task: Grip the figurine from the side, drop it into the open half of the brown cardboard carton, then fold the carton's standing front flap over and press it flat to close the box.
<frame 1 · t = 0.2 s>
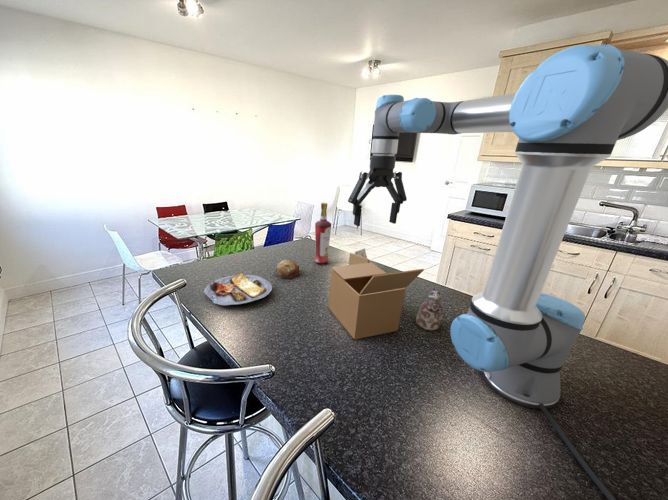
hand: (375, 224, 98), 28 cm above the kitchen island, tool pointing down, fingers open, 13 cm apart
flap: (391, 281, 78), point 19 cm above the kitchen island, hinge at 125.0°
figurine: (427, 324, 94), on the kitchen island
bread roll: (287, 274, 127), on the kitchen island
sandwich container: (367, 287, 118), on the kitchen island
carton: (361, 318, 96), on the kitchen island
food plate: (238, 293, 111), on the kitchen island
liquor: (321, 262, 140), on the kitchen island
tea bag: (357, 271, 132), on the kitchen island
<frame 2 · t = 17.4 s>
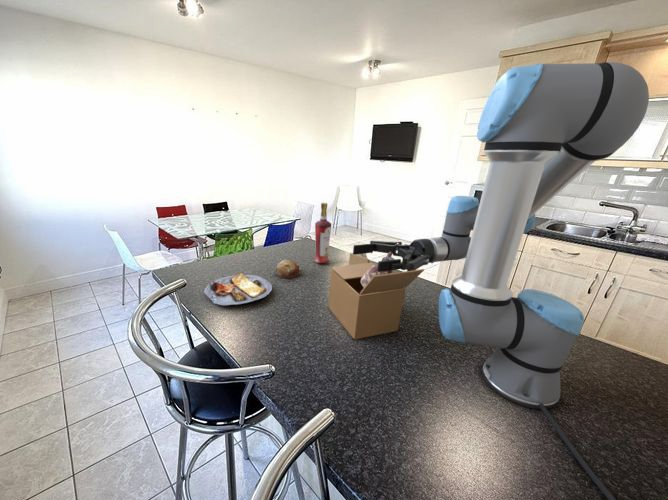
hand: (365, 257, 83), 23 cm above the kitchen island, tool horizontal, fingers open, 13 cm apart
flap: (391, 281, 78), point 19 cm above the kitchen island, hinge at 125.4°
figurine: (371, 285, 88), point 14 cm above the kitchen island, touching carton, gripper
everything else where it was.
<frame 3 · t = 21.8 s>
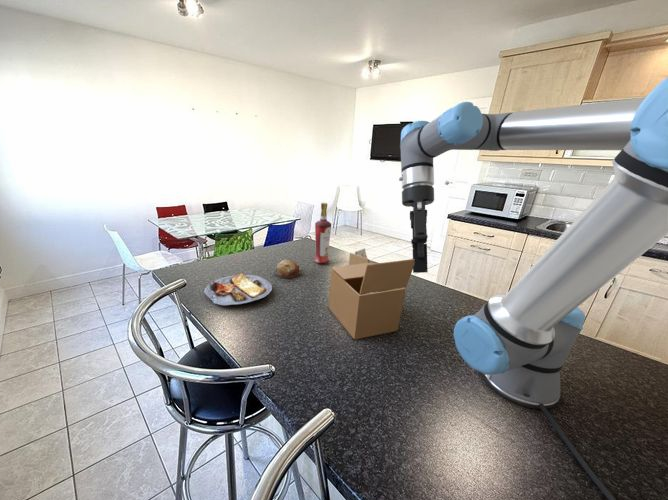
hand: (419, 273, 74), 23 cm above the kitchen island, tool tilted 25°, fingers open, 13 cm apart
flap: (387, 276, 79), point 20 cm above the kitchen island, hinge at 101.3°, touching gripper
figurine: (367, 320, 95), resting on carton
everything else where it was.
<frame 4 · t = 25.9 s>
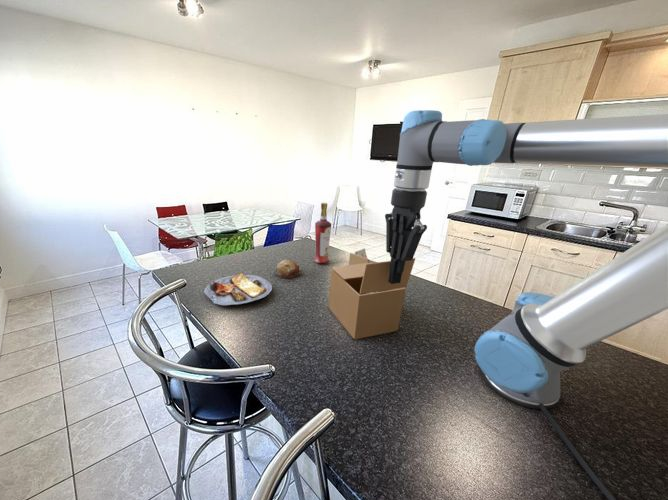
hand: (394, 282, 76), 20 cm above the kitchen island, tool pointing down, fingers closed
flap: (387, 276, 79), point 20 cm above the kitchen island, hinge at 98.9°, touching gripper
everything else where it was.
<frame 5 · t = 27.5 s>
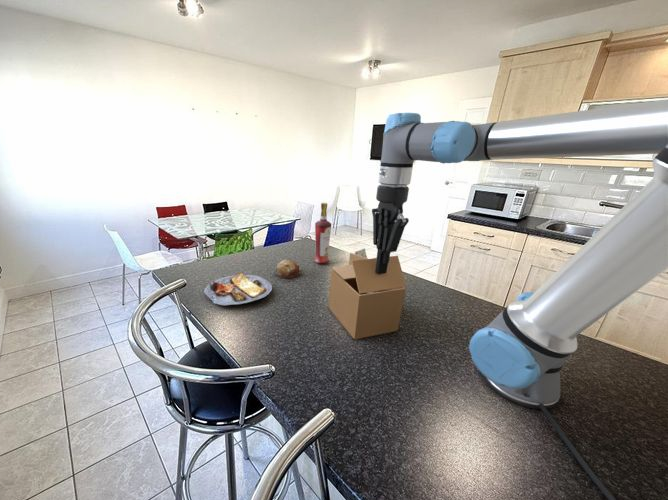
hand: (380, 272, 82), 20 cm above the kitchen island, tool pointing down, fingers closed
flap: (379, 274, 83), point 19 cm above the kitchen island, hinge at 51.1°
everything else where it was.
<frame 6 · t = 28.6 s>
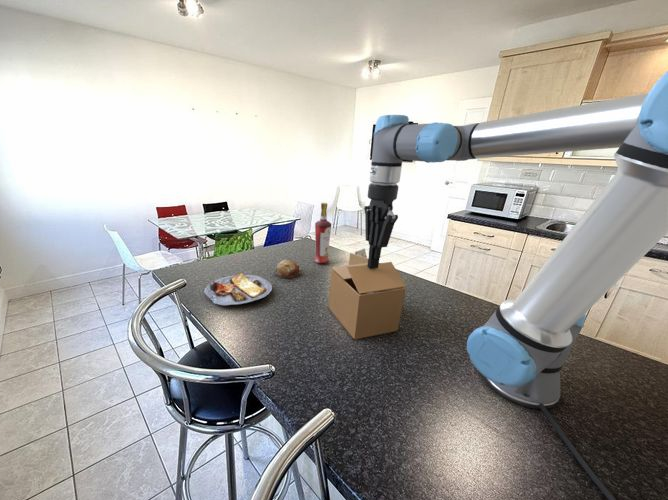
hand: (372, 267, 85), 19 cm above the kitchen island, tool pointing down, fingers closed
flap: (376, 277, 84), point 17 cm above the kitchen island, hinge at 27.5°
everything else where it was.
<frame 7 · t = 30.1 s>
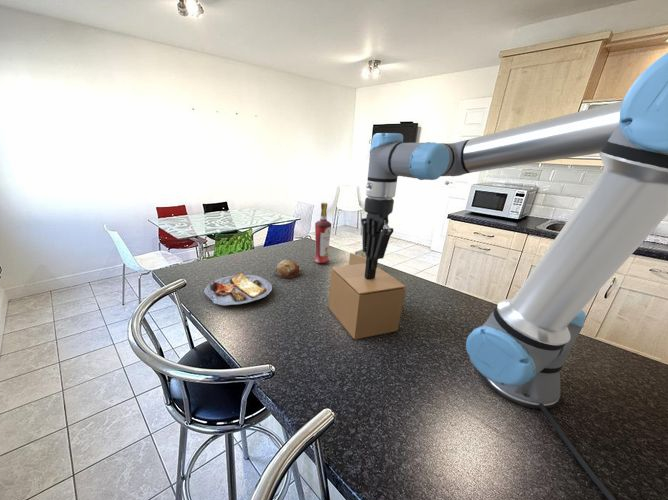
hand: (369, 277, 88), 16 cm above the kitchen island, tool pointing down, fingers closed
flap: (374, 282, 86), point 15 cm above the kitchen island, hinge at 0.6°, touching gripper
everything else where it was.
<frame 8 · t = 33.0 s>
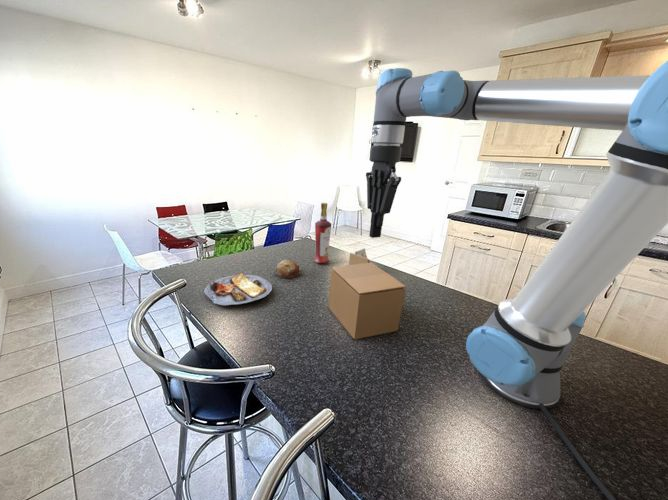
hand: (374, 236, 83), 28 cm above the kitchen island, tool pointing down, fingers closed
flap: (374, 283, 86), point 15 cm above the kitchen island, hinge at 0.5°
everything else where it was.
at the end: figurine inside the target area in the carton (2.4 cm from its centre), point 0.3 cm above the carton's base; flap at +0° (first picture: +125°) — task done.
